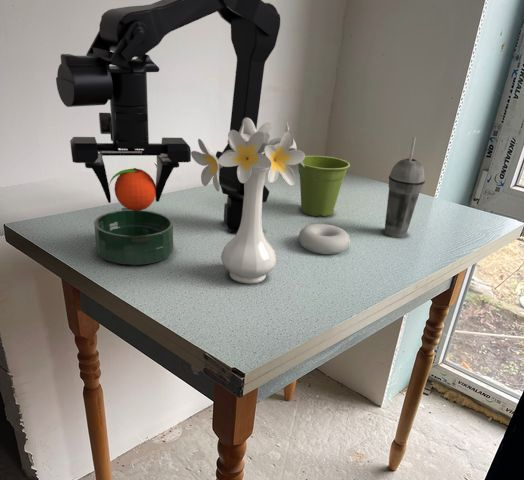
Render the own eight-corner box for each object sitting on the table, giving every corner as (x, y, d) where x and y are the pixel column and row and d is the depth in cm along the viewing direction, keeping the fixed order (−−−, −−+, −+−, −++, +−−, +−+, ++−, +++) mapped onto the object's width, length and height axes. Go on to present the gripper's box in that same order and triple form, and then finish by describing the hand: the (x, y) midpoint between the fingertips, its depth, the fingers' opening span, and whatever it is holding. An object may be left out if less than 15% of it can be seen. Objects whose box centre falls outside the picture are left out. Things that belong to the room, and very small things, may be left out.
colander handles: (135, 211, 105) (135, 207, 105) (148, 244, 92) (148, 240, 92) (121, 211, 104) (121, 207, 104) (132, 245, 91) (132, 241, 91)
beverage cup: (415, 232, 121) (437, 135, 111) (408, 242, 116) (431, 141, 105) (382, 225, 124) (401, 130, 113) (374, 234, 118) (393, 135, 107)
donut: (342, 261, 105) (352, 243, 113) (345, 244, 103) (355, 226, 111) (291, 251, 107) (305, 233, 115) (293, 234, 105) (307, 217, 113)
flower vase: (179, 279, 93) (179, 118, 79) (256, 253, 105) (267, 109, 91) (234, 308, 86) (244, 137, 72) (310, 277, 97) (330, 125, 84)
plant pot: (345, 208, 132) (353, 159, 126) (338, 224, 122) (346, 171, 116) (296, 200, 134) (301, 152, 128) (285, 215, 124) (291, 163, 118)
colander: (166, 236, 108) (165, 208, 105) (179, 265, 97) (179, 235, 95) (94, 239, 104) (91, 210, 101) (99, 269, 93) (97, 238, 91)
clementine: (117, 219, 92) (114, 175, 89) (104, 206, 97) (101, 164, 94) (162, 214, 96) (162, 172, 92) (148, 201, 101) (146, 161, 97)
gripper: (178, 96, 97) (178, 186, 105) (64, 93, 91) (74, 188, 100) (191, 108, 88) (191, 205, 96) (66, 105, 82) (77, 209, 91)
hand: (133, 201), depth 96 cm, fingers closed on clementine, 8 cm apart
